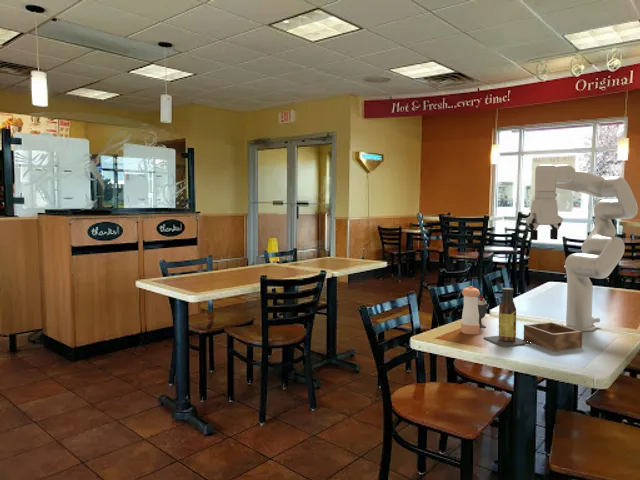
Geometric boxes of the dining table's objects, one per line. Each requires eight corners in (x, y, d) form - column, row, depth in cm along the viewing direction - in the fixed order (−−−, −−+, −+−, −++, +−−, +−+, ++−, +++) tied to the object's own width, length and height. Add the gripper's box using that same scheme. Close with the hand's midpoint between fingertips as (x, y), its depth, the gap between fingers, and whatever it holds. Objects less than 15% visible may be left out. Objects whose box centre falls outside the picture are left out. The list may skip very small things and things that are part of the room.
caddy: (550, 336, 189) (551, 322, 189) (581, 347, 175) (582, 331, 175) (523, 340, 185) (523, 324, 185) (553, 351, 171) (553, 334, 171)
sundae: (483, 329, 201) (483, 294, 200) (468, 326, 206) (469, 292, 205) (491, 326, 206) (491, 292, 204) (477, 324, 211) (477, 290, 209)
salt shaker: (460, 333, 195) (460, 287, 194) (461, 329, 202) (462, 284, 201) (479, 335, 193) (479, 288, 191) (480, 330, 200) (480, 285, 198)
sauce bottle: (517, 342, 180) (518, 290, 178) (499, 341, 181) (500, 289, 180) (514, 337, 186) (515, 287, 185) (497, 337, 188) (498, 286, 186)
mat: (509, 336, 191) (509, 334, 191) (530, 344, 180) (530, 342, 180) (483, 338, 188) (483, 337, 188) (503, 347, 176) (503, 345, 176)
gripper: (555, 196, 196) (554, 238, 197) (520, 196, 190) (519, 239, 192) (570, 196, 188) (568, 239, 190) (533, 196, 183) (532, 240, 185)
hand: (543, 239), depth 191 cm, fingers open, 9 cm apart
